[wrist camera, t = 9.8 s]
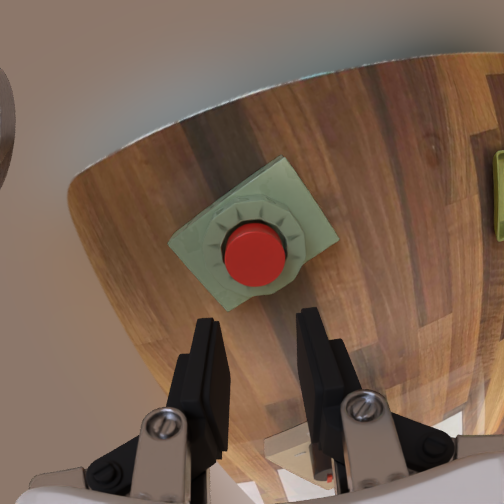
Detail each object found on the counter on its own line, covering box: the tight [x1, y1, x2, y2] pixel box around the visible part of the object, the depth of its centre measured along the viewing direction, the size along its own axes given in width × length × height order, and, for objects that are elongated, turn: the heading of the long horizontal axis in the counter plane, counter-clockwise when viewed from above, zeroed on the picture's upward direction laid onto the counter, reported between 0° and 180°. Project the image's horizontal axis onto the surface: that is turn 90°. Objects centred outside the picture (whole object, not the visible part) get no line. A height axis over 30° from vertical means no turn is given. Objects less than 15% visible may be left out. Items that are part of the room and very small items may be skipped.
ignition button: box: [225, 223, 285, 287], centre depth 19 cm, size 4×4×2 cm
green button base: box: [167, 155, 340, 312], centre depth 21 cm, size 10×7×4 cm
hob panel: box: [264, 422, 334, 490], centre depth 33 cm, size 14×20×3 cm
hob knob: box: [308, 443, 333, 483], centre depth 28 cm, size 4×4×5 cm
